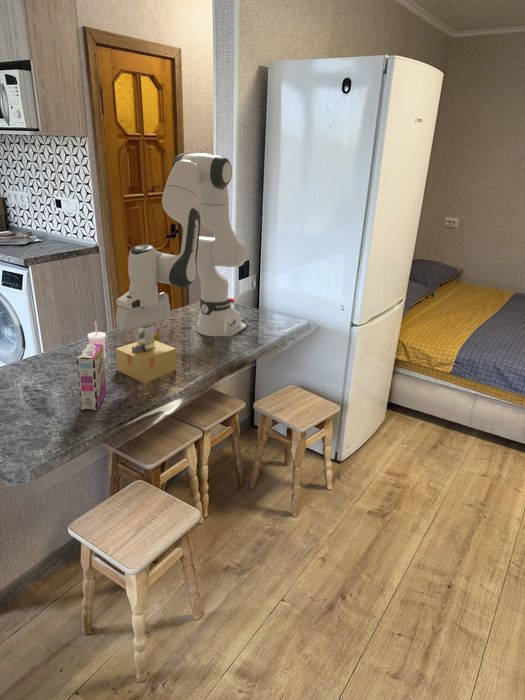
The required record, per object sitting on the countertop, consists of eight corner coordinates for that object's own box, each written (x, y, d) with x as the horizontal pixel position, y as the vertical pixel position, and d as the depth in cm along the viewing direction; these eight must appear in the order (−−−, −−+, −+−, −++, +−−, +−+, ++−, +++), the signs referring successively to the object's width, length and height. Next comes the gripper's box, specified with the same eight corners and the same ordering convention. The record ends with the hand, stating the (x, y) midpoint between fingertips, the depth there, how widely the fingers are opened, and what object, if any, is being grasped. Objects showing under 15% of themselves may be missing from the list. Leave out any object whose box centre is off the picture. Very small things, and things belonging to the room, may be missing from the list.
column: (147, 366, 168) (145, 322, 162) (155, 369, 166) (154, 325, 160) (138, 369, 165) (135, 325, 159) (146, 373, 163) (144, 328, 157)
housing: (149, 358, 175) (148, 334, 171) (176, 369, 167) (176, 344, 163) (116, 370, 164) (114, 344, 160) (144, 383, 156) (143, 356, 153)
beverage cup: (96, 353, 176) (93, 317, 171) (111, 356, 175) (108, 319, 169) (85, 359, 171) (82, 322, 165) (100, 362, 169) (97, 325, 164)
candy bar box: (98, 411, 139) (94, 358, 132) (80, 410, 138) (75, 358, 132) (107, 393, 149) (103, 343, 143) (91, 392, 149) (86, 343, 142)
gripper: (161, 289, 165) (162, 327, 171) (111, 301, 150) (114, 342, 155) (174, 292, 162) (175, 331, 167) (124, 305, 147) (127, 347, 152)
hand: (145, 337), depth 161 cm, fingers open, 5 cm apart
